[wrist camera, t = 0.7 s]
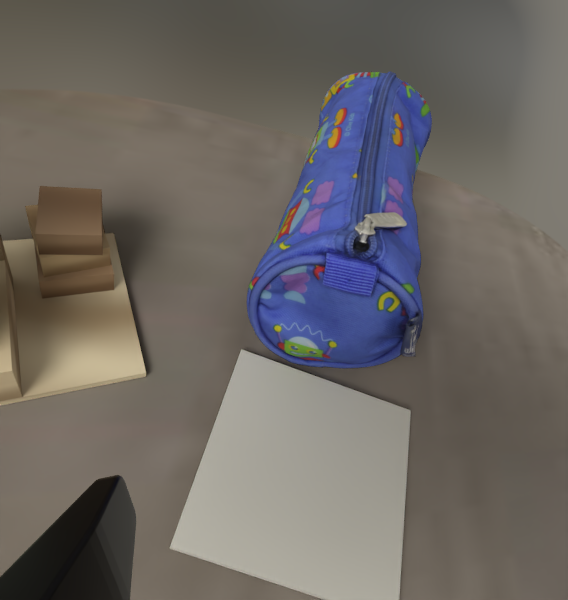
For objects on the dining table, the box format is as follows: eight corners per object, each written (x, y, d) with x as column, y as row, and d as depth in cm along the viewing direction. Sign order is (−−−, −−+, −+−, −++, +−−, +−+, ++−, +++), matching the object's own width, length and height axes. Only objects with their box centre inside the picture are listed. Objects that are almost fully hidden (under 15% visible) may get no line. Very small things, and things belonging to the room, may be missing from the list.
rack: (145, 376, 23) (150, 326, 20) (-135, 432, 19) (-194, 380, 15) (113, 237, 28) (112, 177, 24) (-117, 254, 23) (-159, 183, 20)
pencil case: (368, 410, 26) (466, 313, 19) (222, 357, 25) (263, 236, 18) (398, 184, 40) (460, 78, 33) (304, 147, 40) (346, 31, 32)
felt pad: (393, 622, 20) (397, 621, 19) (169, 548, 19) (170, 546, 19) (407, 413, 26) (410, 410, 26) (239, 352, 26) (241, 349, 25)
